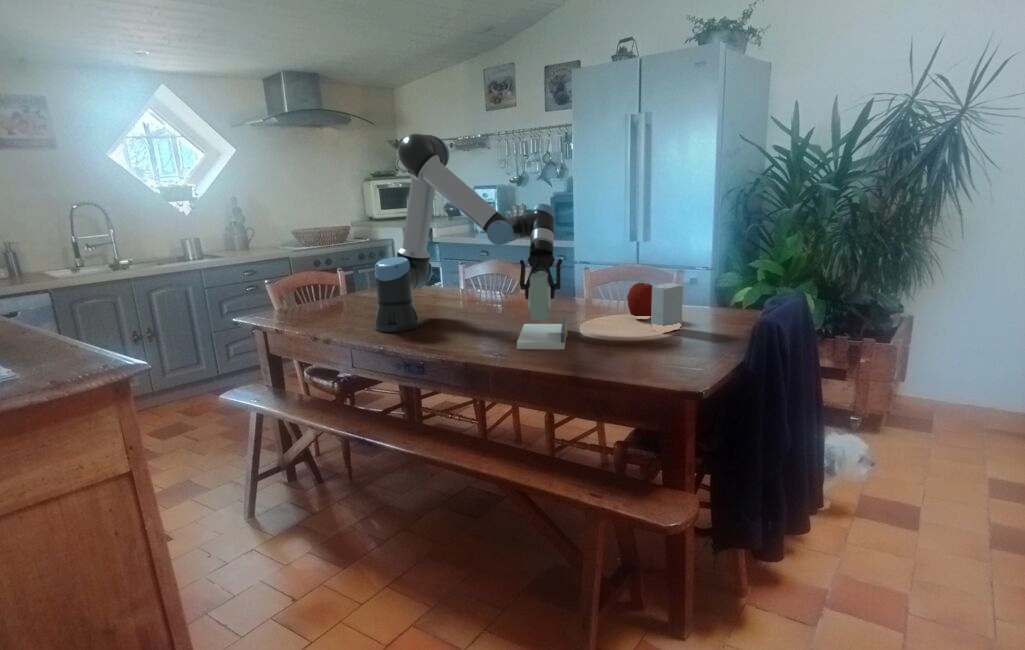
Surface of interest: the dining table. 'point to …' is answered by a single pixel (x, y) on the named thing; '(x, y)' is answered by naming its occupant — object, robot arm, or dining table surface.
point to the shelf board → (543, 336)
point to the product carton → (539, 296)
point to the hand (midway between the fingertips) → (539, 307)
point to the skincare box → (667, 304)
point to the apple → (640, 299)
